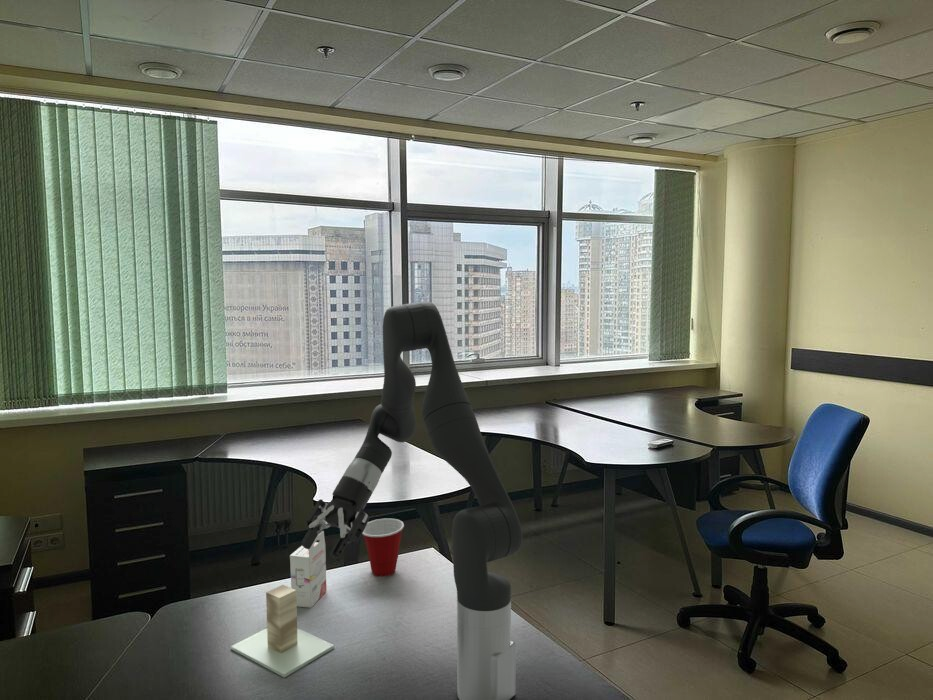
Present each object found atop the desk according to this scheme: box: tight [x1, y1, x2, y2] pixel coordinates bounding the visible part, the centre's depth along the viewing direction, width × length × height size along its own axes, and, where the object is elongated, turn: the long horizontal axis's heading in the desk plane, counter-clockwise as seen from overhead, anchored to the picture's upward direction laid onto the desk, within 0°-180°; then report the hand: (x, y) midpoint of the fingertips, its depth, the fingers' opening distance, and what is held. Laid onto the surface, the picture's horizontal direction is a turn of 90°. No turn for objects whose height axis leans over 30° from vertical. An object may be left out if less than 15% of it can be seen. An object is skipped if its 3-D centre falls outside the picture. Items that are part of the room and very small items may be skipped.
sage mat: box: [230, 627, 335, 678], centre depth 127 cm, size 16×12×1 cm
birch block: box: [265, 584, 298, 653], centre depth 126 cm, size 4×4×11 cm
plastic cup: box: [362, 518, 405, 578], centre depth 161 cm, size 11×11×12 cm
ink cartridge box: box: [289, 530, 327, 609], centre depth 147 cm, size 9×5×15 cm, turn 168°
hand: (318, 552), depth 133 cm, fingers open, 8 cm apart
